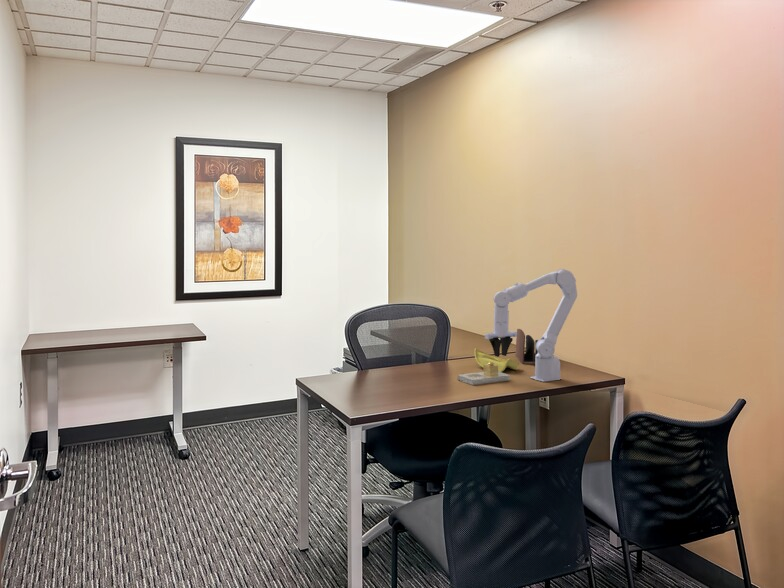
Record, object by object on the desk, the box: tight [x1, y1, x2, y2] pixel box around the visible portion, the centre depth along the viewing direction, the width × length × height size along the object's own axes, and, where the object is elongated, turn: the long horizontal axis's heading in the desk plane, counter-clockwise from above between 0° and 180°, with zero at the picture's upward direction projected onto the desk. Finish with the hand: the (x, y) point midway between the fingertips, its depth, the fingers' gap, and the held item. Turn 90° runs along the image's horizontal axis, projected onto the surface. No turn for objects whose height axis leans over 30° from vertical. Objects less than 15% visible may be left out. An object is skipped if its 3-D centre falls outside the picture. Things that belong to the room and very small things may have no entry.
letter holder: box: [515, 328, 539, 365], centre depth 284 cm, size 10×20×14 cm, turn 178°
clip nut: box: [483, 363, 498, 376], centre depth 245 cm, size 4×4×4 cm
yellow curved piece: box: [473, 348, 519, 373], centre depth 267 cm, size 20×7×10 cm
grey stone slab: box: [457, 371, 511, 386], centre depth 243 cm, size 18×10×2 cm, turn 118°
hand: (500, 355), depth 246 cm, fingers open, 3 cm apart
